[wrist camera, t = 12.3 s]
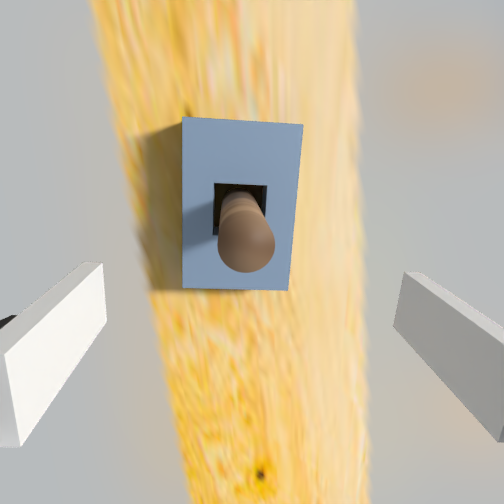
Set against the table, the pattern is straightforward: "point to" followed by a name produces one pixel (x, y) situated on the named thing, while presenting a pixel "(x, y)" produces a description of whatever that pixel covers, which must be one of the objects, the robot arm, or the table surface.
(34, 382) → the robot arm
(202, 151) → the socket block
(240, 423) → the table surface
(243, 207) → the peg
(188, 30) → the table surface
